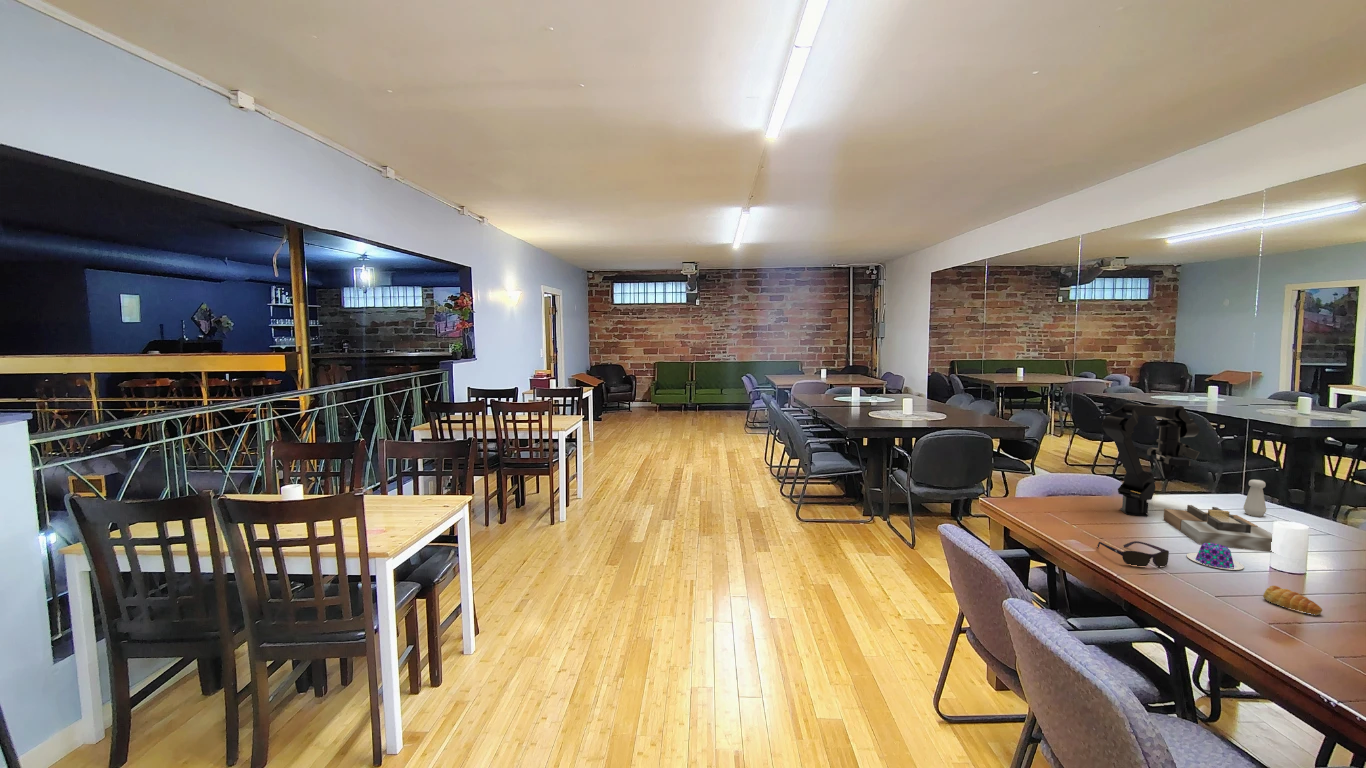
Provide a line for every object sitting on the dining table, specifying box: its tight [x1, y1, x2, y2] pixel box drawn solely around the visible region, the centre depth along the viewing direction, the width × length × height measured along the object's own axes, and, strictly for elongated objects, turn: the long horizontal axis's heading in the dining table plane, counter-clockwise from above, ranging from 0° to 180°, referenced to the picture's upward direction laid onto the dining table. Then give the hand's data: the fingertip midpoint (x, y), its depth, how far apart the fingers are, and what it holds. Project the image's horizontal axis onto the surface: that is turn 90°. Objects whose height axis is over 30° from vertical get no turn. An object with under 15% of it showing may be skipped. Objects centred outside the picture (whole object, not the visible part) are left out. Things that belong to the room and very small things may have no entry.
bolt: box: [1207, 508, 1241, 524], centre depth 176 cm, size 5×8×4 cm, turn 159°
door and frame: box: [1163, 504, 1273, 552], centre depth 179 cm, size 20×24×6 cm
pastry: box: [1262, 585, 1323, 616], centre depth 132 cm, size 9×7×4 cm
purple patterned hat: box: [1186, 543, 1245, 571], centre depth 158 cm, size 12×12×5 cm
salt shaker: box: [1243, 479, 1267, 518], centre depth 197 cm, size 6×6×13 cm
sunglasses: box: [1097, 540, 1170, 568], centre depth 162 cm, size 14×16×5 cm
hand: (1166, 479), depth 203 cm, fingers closed
